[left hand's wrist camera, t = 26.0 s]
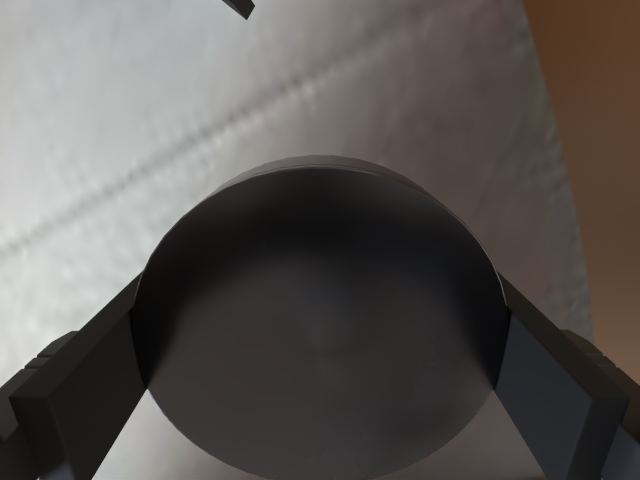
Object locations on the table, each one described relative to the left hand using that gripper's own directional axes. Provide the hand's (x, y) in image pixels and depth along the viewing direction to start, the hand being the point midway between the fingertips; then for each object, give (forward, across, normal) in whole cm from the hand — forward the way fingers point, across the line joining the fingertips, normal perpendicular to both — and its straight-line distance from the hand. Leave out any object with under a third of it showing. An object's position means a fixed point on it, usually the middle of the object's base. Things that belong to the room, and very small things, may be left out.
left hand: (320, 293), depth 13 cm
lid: (-3, 0, 0) cm, 3 cm away
